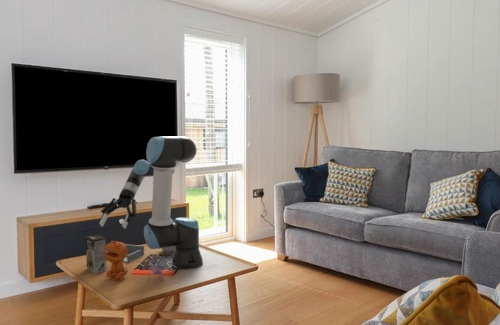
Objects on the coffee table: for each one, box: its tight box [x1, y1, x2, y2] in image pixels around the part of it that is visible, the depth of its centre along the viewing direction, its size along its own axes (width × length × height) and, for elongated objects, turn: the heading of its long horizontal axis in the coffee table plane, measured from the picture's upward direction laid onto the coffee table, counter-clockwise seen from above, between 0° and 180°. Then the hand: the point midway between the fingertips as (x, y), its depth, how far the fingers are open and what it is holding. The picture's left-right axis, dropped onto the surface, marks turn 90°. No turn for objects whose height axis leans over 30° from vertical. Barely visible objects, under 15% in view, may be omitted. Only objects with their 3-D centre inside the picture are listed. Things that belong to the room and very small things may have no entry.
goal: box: [106, 243, 145, 263], centre depth 232 cm, size 16×14×5 cm
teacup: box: [161, 246, 175, 254], centre depth 244 cm, size 14×11×8 cm
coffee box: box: [85, 234, 107, 274], centre depth 211 cm, size 9×6×16 cm
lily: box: [146, 257, 166, 283], centre depth 196 cm, size 12×12×10 cm
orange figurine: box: [103, 239, 129, 282], centre depth 198 cm, size 11×11×18 cm
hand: (112, 226), depth 222 cm, fingers open, 13 cm apart
